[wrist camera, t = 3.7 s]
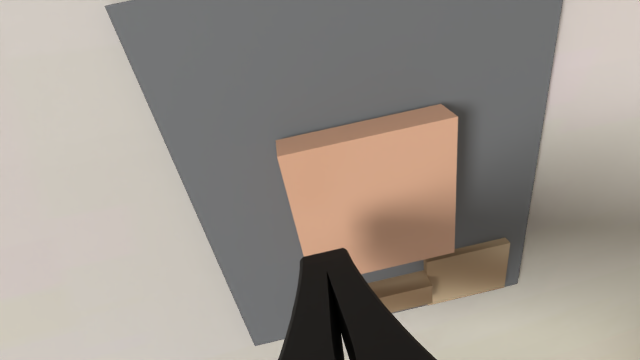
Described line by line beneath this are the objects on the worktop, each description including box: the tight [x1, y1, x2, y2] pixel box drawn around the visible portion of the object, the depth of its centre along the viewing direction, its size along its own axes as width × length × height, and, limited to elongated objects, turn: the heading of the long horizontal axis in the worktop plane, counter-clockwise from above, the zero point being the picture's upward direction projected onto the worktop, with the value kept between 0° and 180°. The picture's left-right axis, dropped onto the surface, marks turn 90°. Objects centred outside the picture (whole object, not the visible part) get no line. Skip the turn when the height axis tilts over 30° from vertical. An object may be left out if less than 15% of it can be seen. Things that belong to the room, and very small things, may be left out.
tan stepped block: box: [368, 238, 510, 313], centre depth 17 cm, size 3×10×1 cm, turn 100°
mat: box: [105, 0, 563, 346], centre depth 15 cm, size 16×14×1 cm
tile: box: [276, 104, 458, 274], centre depth 14 cm, size 6×2×6 cm
